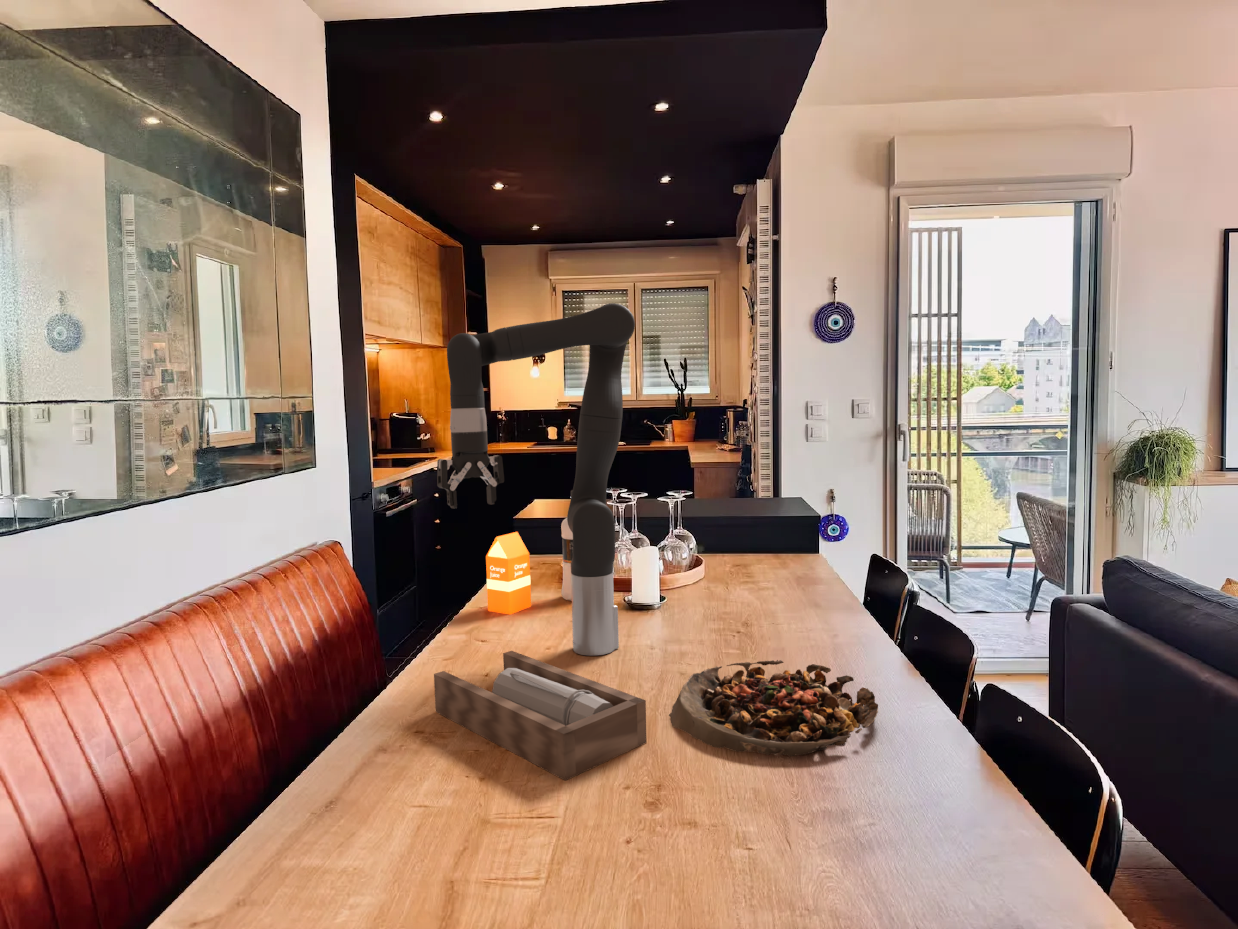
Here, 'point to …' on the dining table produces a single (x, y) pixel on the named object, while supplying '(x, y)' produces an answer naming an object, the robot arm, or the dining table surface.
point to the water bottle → (547, 696)
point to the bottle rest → (545, 720)
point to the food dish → (771, 710)
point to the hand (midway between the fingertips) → (472, 506)
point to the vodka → (567, 559)
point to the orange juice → (508, 575)
